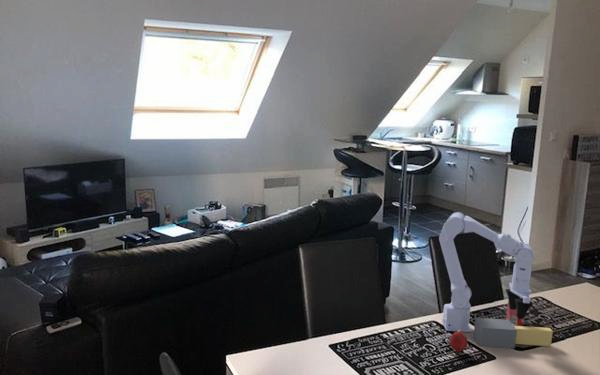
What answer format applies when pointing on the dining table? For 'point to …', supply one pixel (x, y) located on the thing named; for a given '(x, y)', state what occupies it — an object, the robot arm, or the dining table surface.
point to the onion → (458, 341)
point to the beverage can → (514, 316)
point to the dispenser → (495, 333)
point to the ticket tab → (533, 336)
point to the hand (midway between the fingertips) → (516, 313)
